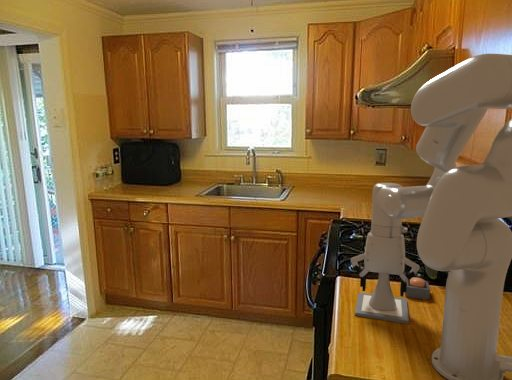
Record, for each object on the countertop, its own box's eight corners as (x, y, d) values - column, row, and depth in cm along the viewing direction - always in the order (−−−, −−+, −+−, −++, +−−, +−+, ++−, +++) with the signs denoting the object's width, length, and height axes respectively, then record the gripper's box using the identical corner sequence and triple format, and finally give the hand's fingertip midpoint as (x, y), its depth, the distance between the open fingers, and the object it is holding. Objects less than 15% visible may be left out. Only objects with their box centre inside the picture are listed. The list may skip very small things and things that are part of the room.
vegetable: (423, 279, 120) (427, 219, 117) (421, 275, 124) (425, 216, 121) (438, 281, 119) (443, 220, 116) (436, 276, 123) (440, 217, 120)
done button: (423, 287, 111) (424, 278, 111) (424, 292, 108) (425, 283, 107) (409, 285, 113) (409, 276, 112) (409, 290, 109) (410, 281, 109)
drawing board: (406, 301, 105) (406, 298, 105) (408, 323, 93) (408, 320, 93) (358, 294, 110) (358, 292, 109) (354, 315, 98) (355, 312, 97)
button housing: (427, 290, 112) (427, 281, 112) (429, 299, 106) (430, 289, 106) (404, 287, 114) (405, 278, 114) (405, 296, 108) (405, 286, 108)
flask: (398, 313, 97) (401, 276, 95) (369, 310, 98) (371, 274, 97) (394, 300, 104) (396, 266, 102) (367, 298, 105) (368, 264, 104)
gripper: (420, 229, 99) (416, 290, 101) (353, 224, 104) (350, 282, 107) (423, 237, 92) (418, 302, 94) (350, 231, 97) (348, 293, 100)
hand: (382, 291), depth 101 cm, fingers open, 9 cm apart
